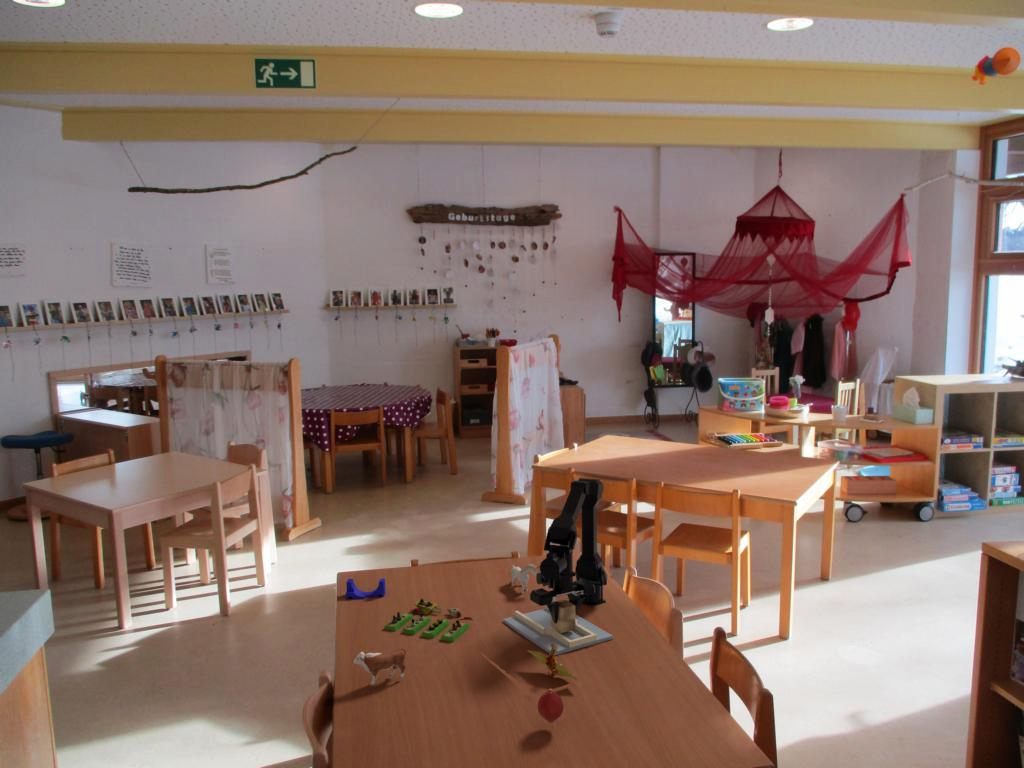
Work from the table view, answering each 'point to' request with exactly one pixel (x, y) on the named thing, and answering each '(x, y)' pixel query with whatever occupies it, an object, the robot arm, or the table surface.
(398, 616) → the toy garden set
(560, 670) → the origami crane
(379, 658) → the bull figurine
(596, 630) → the keyhole board
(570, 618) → the stud block
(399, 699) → the table surface
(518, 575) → the unicorn figurine
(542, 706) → the onion
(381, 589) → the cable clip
